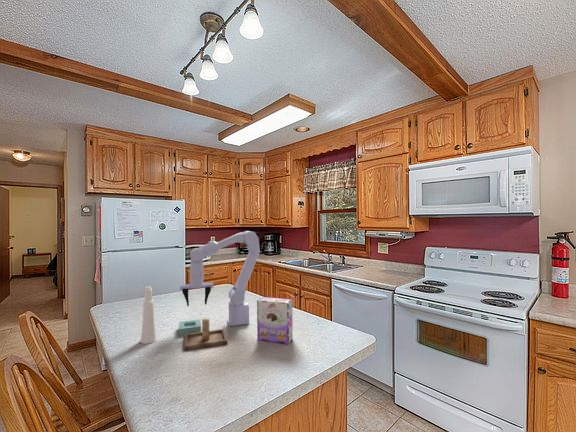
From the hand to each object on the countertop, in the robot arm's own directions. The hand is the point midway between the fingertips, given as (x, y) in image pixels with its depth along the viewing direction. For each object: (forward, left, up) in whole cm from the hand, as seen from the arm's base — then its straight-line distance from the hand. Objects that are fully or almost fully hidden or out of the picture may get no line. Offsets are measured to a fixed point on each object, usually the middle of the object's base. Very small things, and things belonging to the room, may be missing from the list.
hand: (196, 304), depth 129 cm
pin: (-3, +16, -10) cm, 19 cm away
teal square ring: (+3, +3, -10) cm, 11 cm away
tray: (-3, +16, -10) cm, 19 cm away
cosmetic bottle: (+19, +8, -11) cm, 23 cm away
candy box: (-30, +24, -11) cm, 40 cm away
